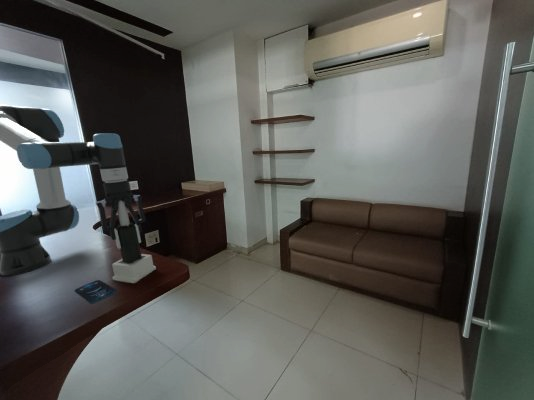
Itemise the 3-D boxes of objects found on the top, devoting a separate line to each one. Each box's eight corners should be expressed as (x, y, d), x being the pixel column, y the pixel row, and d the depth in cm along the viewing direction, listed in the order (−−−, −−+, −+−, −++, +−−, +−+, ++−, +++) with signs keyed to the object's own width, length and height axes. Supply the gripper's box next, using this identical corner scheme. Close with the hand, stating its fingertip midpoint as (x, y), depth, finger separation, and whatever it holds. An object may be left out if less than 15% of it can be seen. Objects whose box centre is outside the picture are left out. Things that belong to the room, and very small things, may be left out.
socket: (113, 280, 84) (109, 264, 83) (136, 266, 93) (133, 252, 92) (134, 283, 81) (131, 267, 79) (156, 268, 90) (153, 254, 89)
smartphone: (98, 279, 85) (118, 290, 77) (99, 280, 85) (118, 292, 77) (72, 290, 79) (90, 304, 71) (73, 291, 79) (91, 305, 71)
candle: (129, 264, 82) (114, 194, 77) (121, 261, 85) (106, 193, 79) (143, 257, 86) (129, 191, 81) (135, 255, 89) (122, 190, 84)
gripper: (82, 186, 71) (99, 256, 76) (148, 177, 83) (159, 239, 88) (80, 184, 76) (96, 250, 81) (142, 176, 88) (153, 234, 93)
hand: (129, 244), depth 84 cm, fingers closed on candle, 6 cm apart
